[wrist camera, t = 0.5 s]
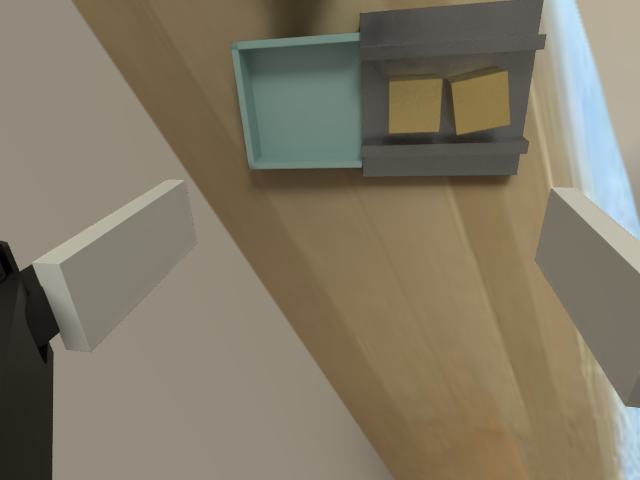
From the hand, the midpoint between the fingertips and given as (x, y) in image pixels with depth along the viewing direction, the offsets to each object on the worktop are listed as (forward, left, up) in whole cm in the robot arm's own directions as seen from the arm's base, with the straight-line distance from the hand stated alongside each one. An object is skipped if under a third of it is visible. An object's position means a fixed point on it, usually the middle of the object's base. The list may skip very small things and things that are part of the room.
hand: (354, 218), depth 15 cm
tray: (-1, -7, -26) cm, 27 cm away
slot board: (-1, +5, -26) cm, 27 cm away
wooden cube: (-1, +8, -25) cm, 26 cm away
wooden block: (-1, +3, -25) cm, 25 cm away
